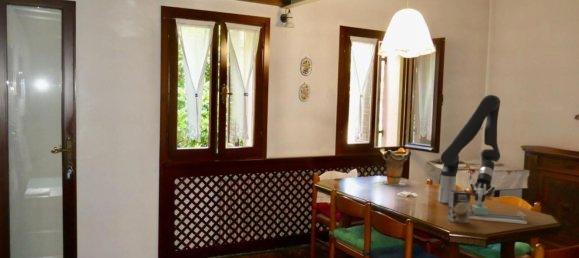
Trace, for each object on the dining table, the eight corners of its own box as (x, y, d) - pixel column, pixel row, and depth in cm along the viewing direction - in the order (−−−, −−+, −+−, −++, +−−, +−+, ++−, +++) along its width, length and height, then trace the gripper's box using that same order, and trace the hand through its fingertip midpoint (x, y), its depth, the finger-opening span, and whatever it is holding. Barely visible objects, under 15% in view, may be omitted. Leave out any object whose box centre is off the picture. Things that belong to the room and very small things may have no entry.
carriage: (474, 213, 247) (476, 189, 246) (471, 210, 254) (473, 187, 253) (487, 214, 246) (489, 190, 245) (484, 211, 252) (486, 188, 251)
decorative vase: (371, 181, 344) (375, 145, 342) (394, 181, 355) (398, 146, 353) (389, 186, 325) (394, 148, 324) (413, 186, 336) (417, 149, 335)
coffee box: (451, 222, 236) (454, 192, 235) (447, 218, 242) (449, 189, 241) (468, 222, 236) (471, 193, 235) (463, 219, 243) (465, 190, 242)
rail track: (468, 218, 245) (469, 211, 245) (463, 213, 257) (464, 206, 256) (526, 224, 240) (527, 216, 240) (519, 218, 252) (519, 211, 252)
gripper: (471, 170, 260) (465, 194, 250) (497, 174, 252) (492, 199, 243) (473, 178, 264) (466, 202, 255) (498, 182, 257) (493, 206, 247)
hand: (479, 200), depth 249 cm, fingers closed on carriage, 2 cm apart
